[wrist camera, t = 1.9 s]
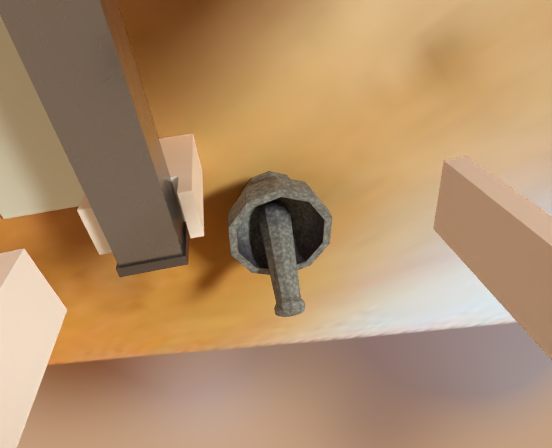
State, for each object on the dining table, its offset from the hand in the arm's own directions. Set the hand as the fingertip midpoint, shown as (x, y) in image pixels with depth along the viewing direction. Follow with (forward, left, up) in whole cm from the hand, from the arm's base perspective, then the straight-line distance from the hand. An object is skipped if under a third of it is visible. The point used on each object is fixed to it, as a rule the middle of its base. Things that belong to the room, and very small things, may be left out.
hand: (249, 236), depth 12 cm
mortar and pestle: (+14, +3, -24) cm, 28 cm away
